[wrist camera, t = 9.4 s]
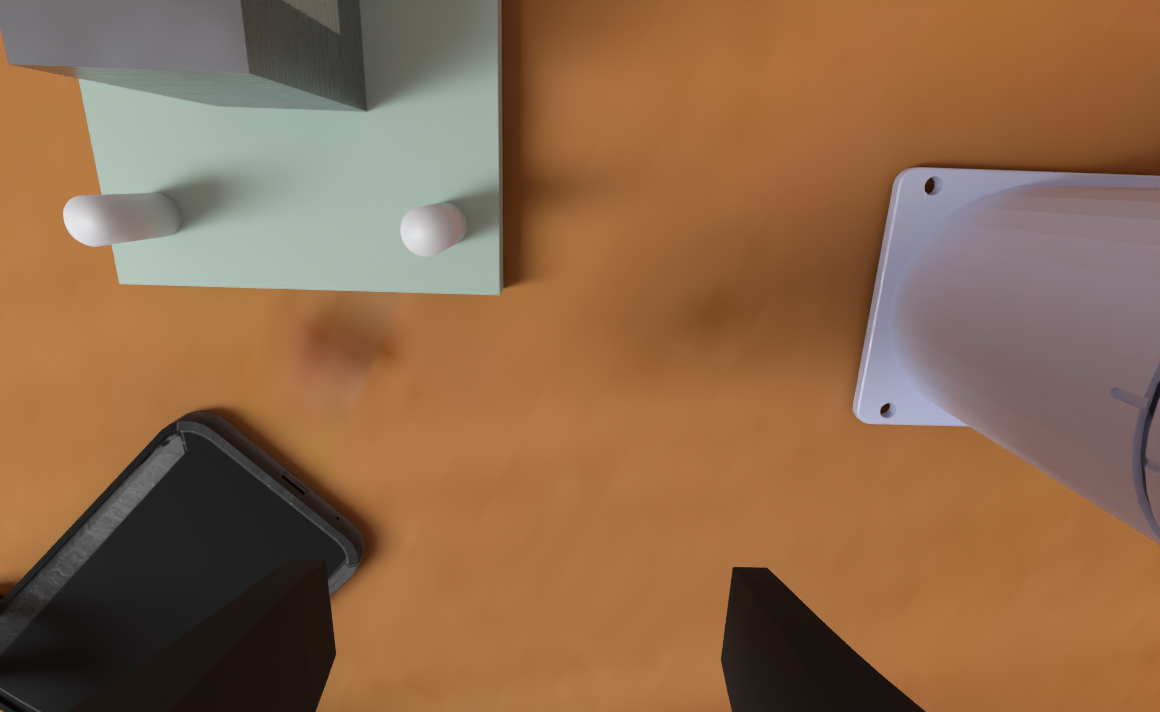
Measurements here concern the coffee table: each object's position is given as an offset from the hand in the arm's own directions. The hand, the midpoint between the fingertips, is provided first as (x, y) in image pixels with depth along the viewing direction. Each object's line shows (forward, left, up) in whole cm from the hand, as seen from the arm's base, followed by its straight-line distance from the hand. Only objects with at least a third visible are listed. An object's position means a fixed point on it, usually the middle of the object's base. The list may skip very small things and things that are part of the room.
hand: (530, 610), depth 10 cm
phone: (+14, +8, -10) cm, 19 cm away
